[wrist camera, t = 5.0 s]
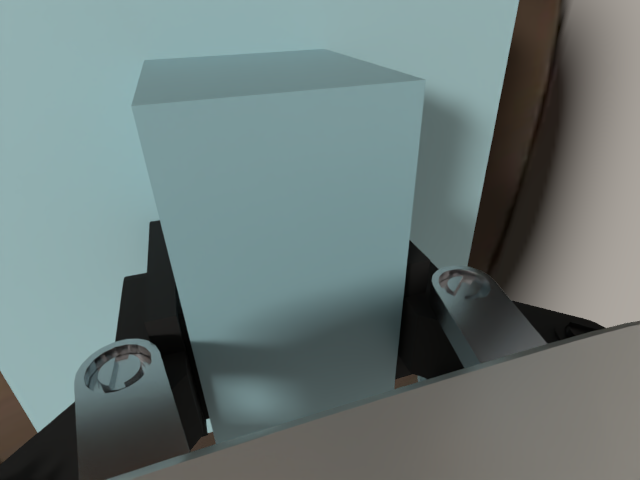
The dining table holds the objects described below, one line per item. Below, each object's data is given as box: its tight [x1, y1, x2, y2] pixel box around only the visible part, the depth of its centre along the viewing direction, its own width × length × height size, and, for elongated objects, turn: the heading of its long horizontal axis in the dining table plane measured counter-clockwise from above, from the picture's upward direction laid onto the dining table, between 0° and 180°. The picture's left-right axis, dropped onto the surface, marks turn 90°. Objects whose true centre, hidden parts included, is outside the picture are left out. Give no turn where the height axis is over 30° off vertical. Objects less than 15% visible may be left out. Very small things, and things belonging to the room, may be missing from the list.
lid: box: [0, 0, 519, 444], centre depth 11 cm, size 15×15×7 cm
